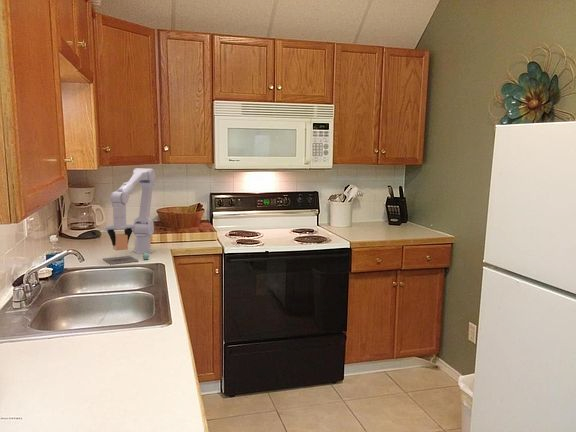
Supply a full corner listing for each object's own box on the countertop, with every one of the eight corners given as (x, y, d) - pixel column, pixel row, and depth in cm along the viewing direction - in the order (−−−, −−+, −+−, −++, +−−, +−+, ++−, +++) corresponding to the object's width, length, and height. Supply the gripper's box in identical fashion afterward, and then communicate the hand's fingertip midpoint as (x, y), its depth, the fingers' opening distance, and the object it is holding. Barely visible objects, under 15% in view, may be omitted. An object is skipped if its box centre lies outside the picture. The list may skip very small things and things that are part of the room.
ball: (141, 259, 222) (141, 252, 222) (148, 258, 224) (147, 252, 224) (143, 260, 220) (143, 254, 219) (150, 259, 222) (150, 253, 221)
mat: (102, 259, 220) (102, 258, 220) (129, 256, 228) (129, 255, 228) (110, 264, 210) (110, 263, 209) (138, 261, 217) (138, 260, 217)
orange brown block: (112, 248, 218) (112, 234, 217) (124, 247, 221) (124, 233, 221) (116, 250, 214) (115, 235, 213) (127, 249, 217) (127, 235, 216)
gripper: (106, 218, 208) (106, 247, 210) (137, 216, 217) (138, 244, 219) (101, 216, 214) (102, 245, 216) (132, 215, 223) (133, 242, 224)
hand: (120, 244), depth 218 cm, fingers closed on orange brown block, 5 cm apart
